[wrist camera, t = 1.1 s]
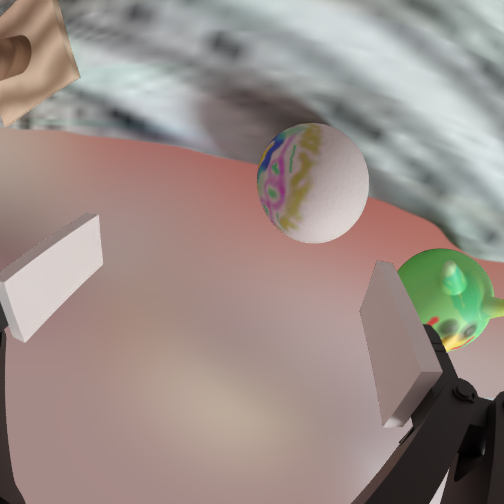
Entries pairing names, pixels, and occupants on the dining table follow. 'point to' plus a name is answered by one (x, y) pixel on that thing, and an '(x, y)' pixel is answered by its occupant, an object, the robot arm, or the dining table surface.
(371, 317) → the robot arm
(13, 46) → the square base plate
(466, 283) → the toy bird
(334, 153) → the decorative egg
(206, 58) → the dining table surface
